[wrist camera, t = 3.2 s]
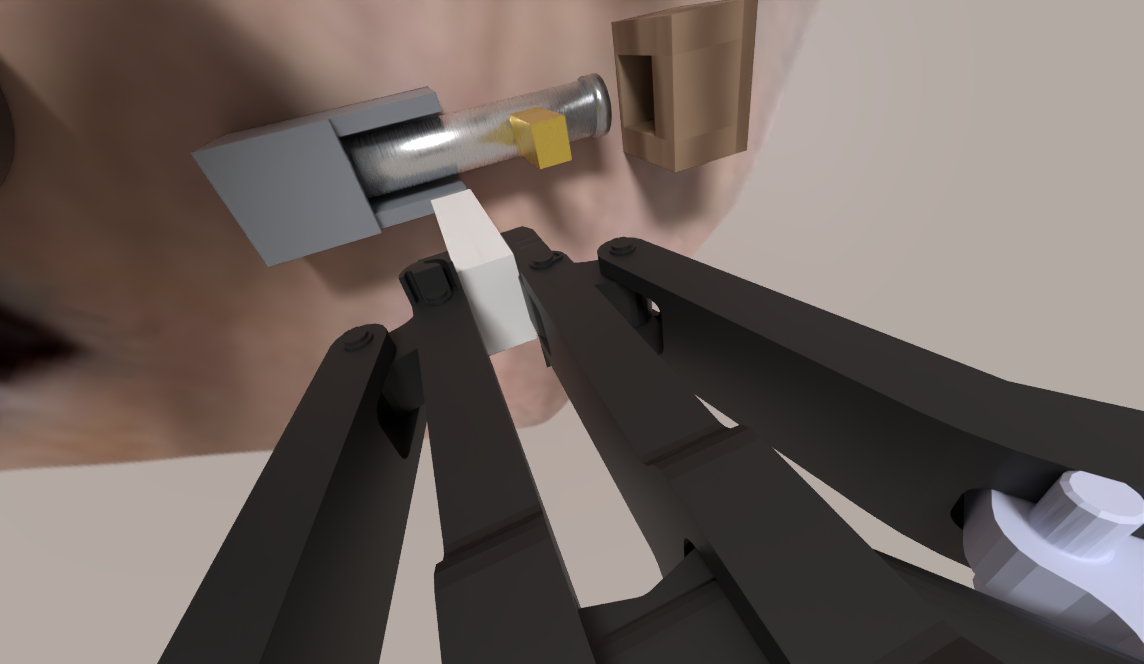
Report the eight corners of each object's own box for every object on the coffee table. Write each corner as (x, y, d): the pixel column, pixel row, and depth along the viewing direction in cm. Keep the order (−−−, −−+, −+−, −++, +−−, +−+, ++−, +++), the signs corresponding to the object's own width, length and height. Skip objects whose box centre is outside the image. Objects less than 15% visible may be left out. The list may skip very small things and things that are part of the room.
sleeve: (284, 233, 30) (268, 267, 25) (223, 135, 26) (190, 153, 21) (459, 183, 33) (473, 205, 28) (427, 86, 29) (437, 93, 24)
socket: (623, 151, 36) (675, 172, 30) (611, 22, 31) (671, 15, 24) (684, 133, 37) (746, 150, 31) (683, 6, 32) (758, -6, 26)
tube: (299, 212, 29) (275, 263, 22) (263, 152, 26) (224, 187, 20) (592, 130, 33) (648, 151, 26) (584, 72, 31) (643, 78, 24)
